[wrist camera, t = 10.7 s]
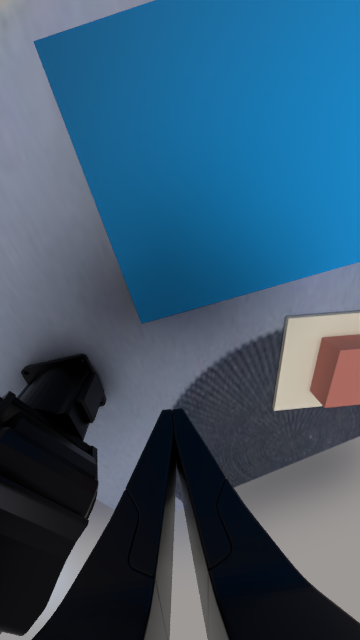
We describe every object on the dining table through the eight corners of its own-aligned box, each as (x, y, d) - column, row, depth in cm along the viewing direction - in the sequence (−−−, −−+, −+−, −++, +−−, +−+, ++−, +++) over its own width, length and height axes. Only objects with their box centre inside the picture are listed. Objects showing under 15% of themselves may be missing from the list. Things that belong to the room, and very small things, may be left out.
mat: (272, 407, 27) (274, 410, 27) (286, 316, 23) (288, 318, 22) (397, 395, 28) (400, 398, 28) (436, 304, 23) (441, 306, 23)
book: (28, 42, 11) (549, -151, 10) (63, 88, 15) (440, -46, 14) (144, 332, 18) (462, 240, 17) (147, 312, 22) (406, 237, 21)
